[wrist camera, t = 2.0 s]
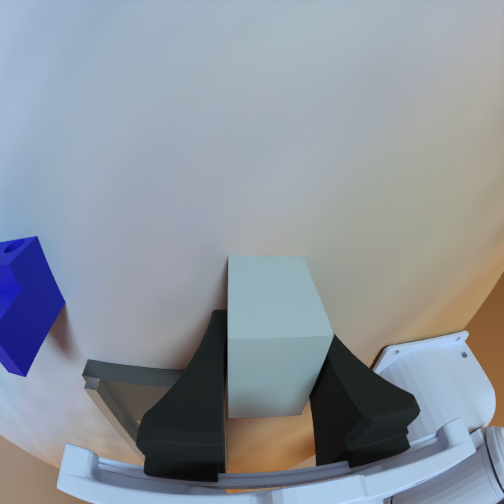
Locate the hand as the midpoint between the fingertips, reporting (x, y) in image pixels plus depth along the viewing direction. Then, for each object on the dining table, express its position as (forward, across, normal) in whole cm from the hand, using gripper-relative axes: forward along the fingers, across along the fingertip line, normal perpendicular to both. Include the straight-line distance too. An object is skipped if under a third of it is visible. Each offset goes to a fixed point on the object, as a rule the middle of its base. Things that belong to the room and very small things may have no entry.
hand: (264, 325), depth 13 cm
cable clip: (+2, +18, -1) cm, 18 cm away
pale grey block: (+1, 0, 0) cm, 1 cm away
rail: (+1, +7, +17) cm, 18 cm away
